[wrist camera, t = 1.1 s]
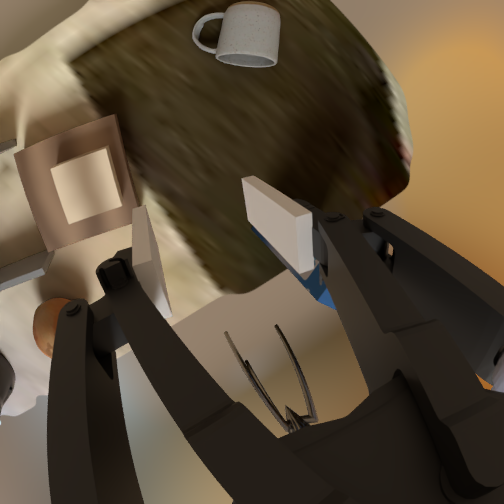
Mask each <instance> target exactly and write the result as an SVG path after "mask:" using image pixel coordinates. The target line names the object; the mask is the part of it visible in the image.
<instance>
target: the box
mask: <svg viewBox="0 0 504 504" xmlns="http://www.w3.org/2000/svg"><path fill="white" fill-rule="evenodd" d="M15 146H17V145H16V140H15V139H13V140H10V141H7V142H4V143H1V144H0V154H1V153H3V152H5V151H7V150H9V149H11V148H13V147H15ZM53 256H54V252H53V251H51V252H48V250H45V251H43V252H40V253H38V254H35V255H32V256H30V257H27V258H25V259H22V260H20V261H17V262H15V263H12V264H10V265H7V266H5V267H3V268H0V291H2V290H5V289H7V288H10V287H12V286H15V285H18V284H20V283H23V282H26V281H29V280H31V279H34V278H37V277H40V276H42V275H45V274H46V272H47V269H48V267H49V265H50V262H51V260H52V258H53Z"/></svg>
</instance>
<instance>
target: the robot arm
mask: <svg viewBox="0 0 504 504" xmlns="http://www.w3.org/2000/svg"><path fill="white" fill-rule="evenodd" d="M242 184H243V190H244V196H245V203H246V209H247V216H248V221H249V222H250V223H251V224H252V225H253V226H254V227H255V228H256V229H257V230H258V231H259V232H260V233H261V234H262V235H263V236H264V237H265V238H266V239H267V241H268V242H269V243H270V244H271V245H272V246H273V247H274V248H275V249H276V250H277V251H278V252H279V253H280V254H281V255H282V256H283V257H284V258H285V259H286V260H287V262H288V263H289V264H290V265H291V266H292V267H293V268H294V269H295V270H296V271H297V272H298V273H299V274H301V273H303V272H306V271H309V270H312V269H314V258H316V259H317V260H318V261H319V283H320V285H322V281H323V280H324V282H325V285H326V287H327V289H328V291H329V294H330V296H331V298H332V301H333V303H334V305H335V308H336V310H337V312H338V315H339V317H340V319H341V321H342V324H343V326H344V329H345V331H346V334H347V336H348V339H349V341H350V343H351V346H352V348H353V351H354V353H355V356H356V358H357V361H358V363H359V366H360V368H361V371H362V374H363V376H364V379H365V381H366V384H367V387H368V390H369V396H368V397H367V398H366V399H365V400H364V401H363V402H362V403H361V404H360V405H359V406H358V407H356V408H355V409H354V410H353V411H352V412H351V413H350V414H349V415H348V416H346V417H344V418H341V419H337V420H333V421H329V422H325V423H320V424H316V425H311V426H307V427H303V428H301V429H299V430H297V431H294V432H292V433H290V434H288V435H285V436H283V437H280V438H277V437H276V436H275V435H273V434H272V433H271V432H270V431H269V430H268V429H267V428H266V427H265V426H264V425H263V424H262V423H261V422H260V421H259V420H258V419H257V418H256V417H255V416H254V415H253V414H252V413H251V412H250V411H249V410H248V409H247V408H246V407H245V406H244V405H243V404H242V403H240V402H234V401H233V400H232V399H231V398H230V397H229V396H228V395H227V394H226V393H225V392H224V390H223V389H222V388H221V387H220V386H219V385H218V384H217V383H216V381H215V380H214V379H213V378H212V377H211V376H210V375H209V373H208V372H207V371H206V370H205V369H204V367H203V366H202V365H201V364H200V363H199V362H198V360H197V359H196V358H195V357H194V356H193V354H192V353H191V352H190V351H189V350H188V348H187V347H186V346H185V344H184V343H183V342H182V341H181V339H180V338H179V337H178V336H177V334H176V333H175V332H174V331H173V329H172V328H171V326H170V325H169V324H168V323H167V321H166V320H165V319H166V318H169V317H172V316H173V315H172V311H171V307H170V302H169V298H168V293H167V289H166V284H165V279H164V274H163V270H162V265H161V259H160V254H159V249H158V245H157V242H156V239H155V235H154V232H153V229H152V226H151V222H150V219H149V215H148V212H147V209H146V205H143V206H140V207H137V208H134V209H133V214H132V247H130V248H127V249H123V250H120V251H117V253H116V254H115V256H114V257H113V258H110V259H108V260H106V261H104V262H102V263H101V264H100V265H99V266H98V267H97V269H96V275H97V277H98V279H99V281H100V284H101V286H102V288H103V290H104V292H105V294H106V295H105V296H103V297H102V298H101V299H99V300H98V301H96V302H94V303H92V304H90V305H89V304H88V302H87V301H86V300H85V299H80V298H79V299H75V300H72V301H69V302H68V303H66V304H65V305H64V306H63V308H62V309H61V310H60V312H59V315H58V320H57V326H56V332H55V339H54V345H53V353H52V361H51V370H50V380H49V393H48V412H47V414H48V415H47V456H48V475H49V487H50V496H51V504H144V501H143V498H142V494H141V491H140V487H139V483H138V479H137V476H136V472H135V468H134V463H133V459H132V455H131V450H130V445H129V440H128V435H127V431H126V425H125V419H124V413H123V407H122V401H121V393H120V386H119V378H118V369H117V360H116V352H115V350H116V349H118V348H120V347H121V346H123V345H125V344H127V343H129V344H130V346H131V348H132V350H133V352H134V354H135V356H136V358H137V359H138V361H139V363H140V365H141V367H142V368H143V370H144V372H145V374H146V376H147V377H148V379H149V381H150V382H151V384H152V386H153V388H154V389H155V391H156V392H157V394H158V396H159V397H160V399H161V401H162V402H163V404H164V405H165V407H166V408H167V410H168V412H169V413H170V415H171V416H172V418H173V419H174V421H175V422H176V424H177V425H178V427H179V428H180V430H181V431H182V433H183V435H184V437H185V438H186V440H187V441H188V443H189V444H190V445H191V447H192V448H193V450H194V451H195V452H196V454H197V455H198V456H199V458H200V459H201V460H202V462H203V463H204V464H205V466H206V467H207V468H208V470H209V471H210V472H211V473H212V475H213V476H214V477H215V478H216V480H217V481H218V482H219V483H220V484H221V486H222V487H223V488H224V489H225V490H226V492H227V493H228V494H229V495H230V496H231V497H232V499H233V502H232V504H504V286H502V285H501V284H500V283H498V282H497V281H496V280H494V279H493V278H492V277H490V276H489V275H487V274H486V273H485V272H483V271H482V270H481V269H479V268H478V267H476V266H475V265H474V264H472V263H471V262H469V261H468V260H466V259H465V258H464V257H462V256H461V255H459V254H457V253H456V252H455V251H453V250H452V249H450V248H449V247H447V246H446V245H444V244H442V243H441V242H439V241H438V240H436V239H435V238H433V237H432V236H430V235H428V234H427V233H425V232H424V231H422V230H420V229H419V228H417V227H415V226H414V225H412V224H410V223H409V222H407V221H405V220H404V219H402V218H400V217H399V216H397V215H395V214H393V213H392V212H390V211H388V210H386V209H383V208H380V207H372V208H368V209H366V210H364V212H363V219H361V220H352V221H350V219H349V218H348V217H347V216H346V215H344V214H342V213H337V212H328V213H324V212H323V211H321V210H320V209H318V208H315V206H313V205H311V204H310V203H308V202H307V201H305V200H301V199H293V200H292V199H290V198H289V197H287V196H286V195H284V194H282V193H281V192H279V191H278V190H276V189H275V188H273V187H271V186H270V185H268V184H267V183H265V182H263V181H262V180H260V179H259V178H257V177H255V176H250V177H246V178H242ZM389 243H390V244H391V245H392V246H393V255H392V256H391V255H390V254H388V248H389ZM475 373H476V374H477V375H478V376H479V377H481V378H482V379H483V380H485V381H486V382H488V383H489V384H491V385H493V387H492V389H491V390H488V389H484V388H483V386H482V384H481V383H480V381H479V379H478V377H477V376H476V374H475ZM14 384H15V374H14V371H13V369H12V367H11V366H10V364H9V363H8V361H7V360H6V359H5V358H4V357H3V356H2V355H1V354H0V415H1V409H2V407H3V405H4V404H5V402H6V401H7V399H8V398H9V396H10V395H11V393H12V391H13V389H14Z"/></svg>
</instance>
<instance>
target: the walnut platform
mask: <svg viewBox="0 0 504 504" xmlns="http://www.w3.org/2000/svg"><path fill="white" fill-rule="evenodd" d="M108 145H109V149H110V153H111V157H112V161H113V165H114V168H115V172H116V176H117V179H118V183H119V186H120V190H121V193H122V197H123V203H122V206H121V207H118V208H115V209H112V210H109V211H106V212H103V213H100V214H97V215H94V216H91V217H88V218H86V219H83V220H80V221H77V222H74V223H72V224H68V221H67V218H66V215H65V213H64V210H63V207H62V204H61V201H60V198H59V195H58V192H57V189H56V186H55V183H54V180H53V176H52V173H51V170H50V169H51V168H52V167H54V166H55V165H56V164H59V163H61V162H64V161H66V160H69V159H71V158H74V157H77V156H79V155H82V154H85V153H88V152H90V151H93V150H96V149H99V148H102V147H105V146H108ZM14 157H15V161H16V165H17V168H18V172H19V175H20V178H21V181H22V185H23V188H24V191H25V194H26V197H27V200H28V202H29V205H30V208H31V211H32V213H33V216H34V219H35V221H36V224H37V226H38V229H39V231H40V234H41V236H42V239H43V241H44V243H45V246H46V248H47V250H48V252H51V251H54V250H56V249H59V248H62V247H64V246H67V245H70V244H73V243H76V242H78V241H81V240H84V239H87V238H90V237H93V236H96V235H99V234H102V233H105V232H108V231H111V230H114V229H117V228H120V227H123V226H126V225H129V224H132V214H133V209H134V208H137V207H140V205H139V201H138V198H137V194H136V190H135V187H134V183H133V180H132V176H131V172H130V168H129V164H128V160H127V156H126V152H125V148H124V144H123V140H122V135H121V131H120V126H119V122H118V117H117V114H113V115H110V116H107V117H103V118H100V119H97V120H95V121H92V122H89V123H86V124H83V125H80V126H78V127H75V128H72V129H70V130H67V131H65V132H62V133H60V134H57V135H55V136H52V137H50V138H48V139H45V140H43V141H41V142H38V143H36V144H34V145H32V146H30V147H27V148H25V149H23V150H21V151H19V152H17V153H15V154H14Z"/></svg>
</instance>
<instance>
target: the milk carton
mask: <svg viewBox="0 0 504 504" xmlns="http://www.w3.org/2000/svg"><path fill="white" fill-rule="evenodd" d="M251 229H252V230H253V231H254V232H255V233H256V235H257V236H258V237H259V238H260V239H261V240H262V241H263V242H264V243H265V244H266V245H267V246H268V248H269V249H270V250H271V251H272V252H273V253H274V254H275V255H276V256H277V257H278V258H279V260H280V261H281V262H282V263H283V264H284V265H285V266H286V267H287V268H288V269H289V270H290V271H291V272H292V274H293V275H294V276H295V277H296V278H297V279H298V280H299V281H300V282H301V283H302V285H303V286H304V287H305V288H306V289H307V290H308V291H309V292H310V294H311V295H312V296H313V297H314V298H315V299H316V300H317V301H318V302H320V303H322V304H324V305H327V306H329V307H331V308H333V309H335V310H336V308H335V305H334V303H333V301H332V298H331V296H330V294H329V291H328V289H327V287H326V285H325V282H324V280H323V281H322V285H320V283H319V261H318V260H317V259H316V258H314V269H312V270H309V271H306V272H303V273H301V274H299V273H298V272H297V271H296V270H295V269H294V268H293V267H292V266H291V265H290V264H289V263H288V262H287V260H286V259H285V258H284V257H283V256H282V255H281V254H280V253H279V252H278V251H277V250H276V249H275V248H274V247H273V246H272V245H271V244H270V243H269V242H268V241H267V239H266V238H265V237H264V236H263V235H262V234H261V233H260V232H259V231H258V230H257V229H256V228H255V227H254V226H253V227H252V228H251Z"/></svg>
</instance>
